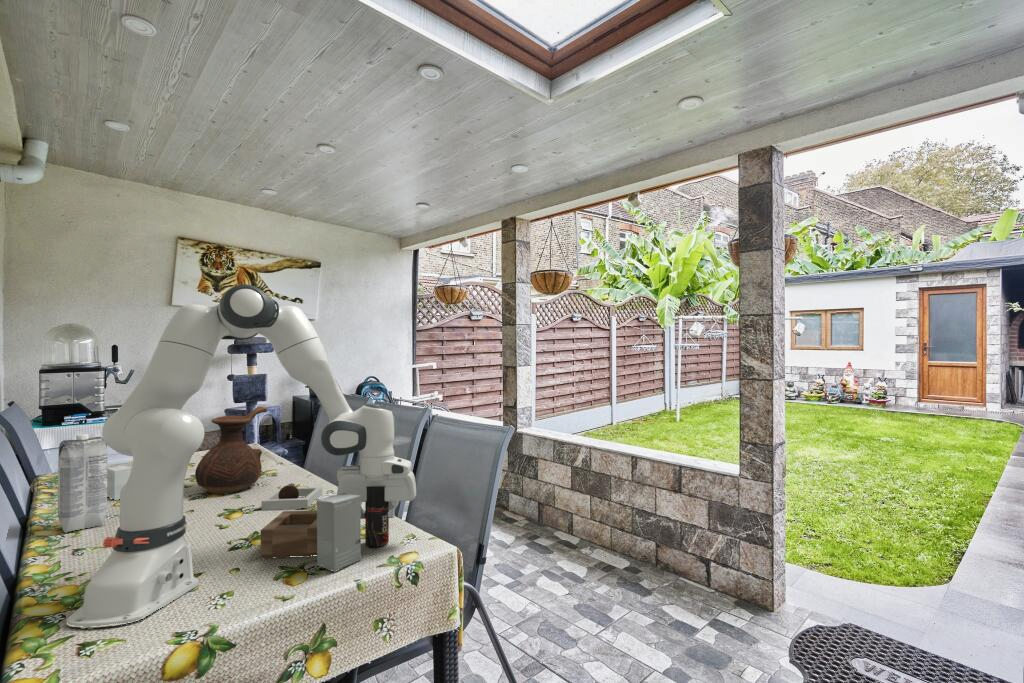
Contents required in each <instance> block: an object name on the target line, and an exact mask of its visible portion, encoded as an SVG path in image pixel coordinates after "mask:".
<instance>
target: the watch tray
mask: <svg viewBox="0 0 1024 683" xmlns="http://www.w3.org/2000/svg"><path fill="white" fill-rule="evenodd" d="M282 488H283V487H280V488H278V489H277V490H276V491H274V492H272V493H271V494H270V495H268V496H267V497H265V498H264V499H262V500H261V511H276V510H277V511H279V510H280V511H282V509H287V510H302V509H301V508H308V507H309V506H310V505H311V504H312V503H313V502H314V501H315V500H316V499H318V498H319V497H320V496H321V495H322V496H323V486H314V487H313V486H311V487H309V486H308V487H306V486H305V487H297V489H298V491H299V496H307V497H299V496H298V498H297V499H279V497H278V495H279V491H280V490H281V489H282ZM322 496H321V497H322ZM321 497H320V498H321ZM320 498H319V499H320ZM319 499H318V500H319ZM313 504H314V503H313ZM313 504H312V505H313ZM312 505H311V506H312ZM311 506H310V507H311ZM310 507H309V508H310ZM309 508H308V509H309Z"/></svg>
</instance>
